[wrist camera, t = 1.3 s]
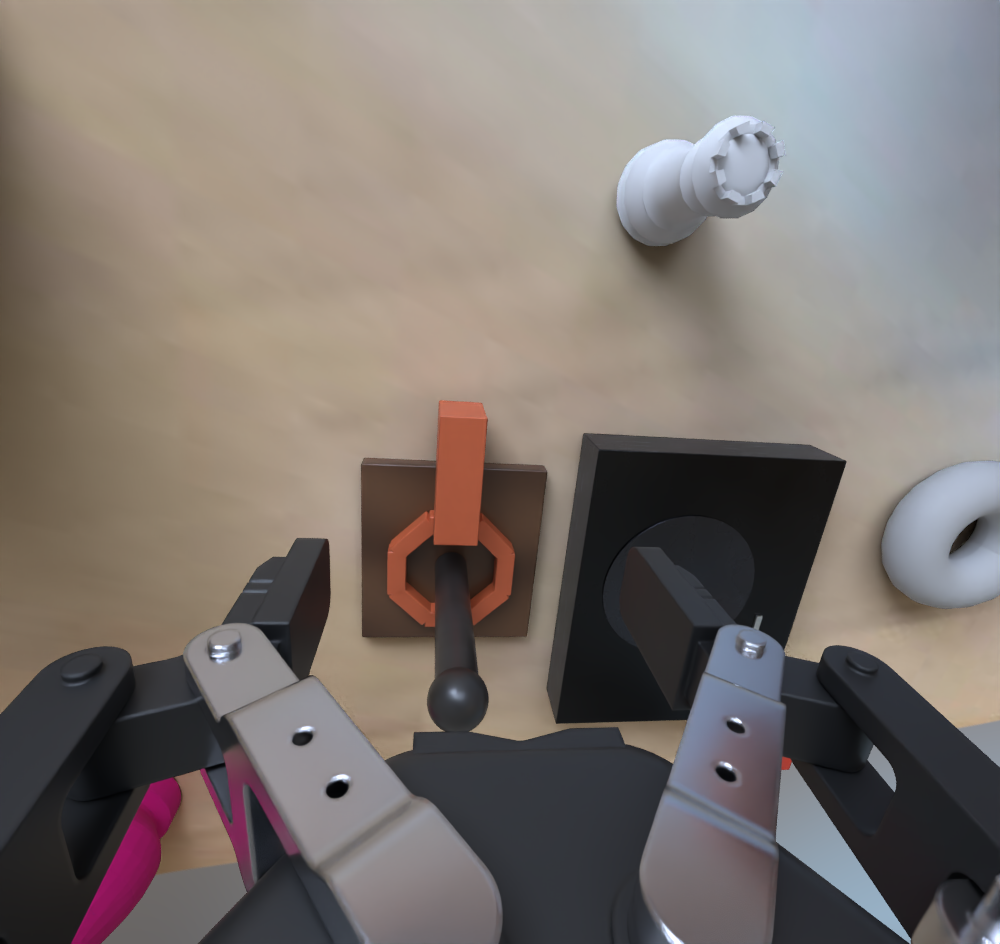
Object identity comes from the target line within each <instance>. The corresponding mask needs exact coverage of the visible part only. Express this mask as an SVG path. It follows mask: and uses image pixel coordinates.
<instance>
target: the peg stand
mask: <svg viewBox="0 0 1000 944" xmlns="http://www.w3.org/2000/svg"><path fill="white" fill-rule="evenodd" d="M435 479H436V461H425V460H401V459H377V458H364V459H363V461H362V464H361V522H362V636H363V637H435V680H434V681H433V682H432V684H431V686H430V688H429V692H428V697H427V707H428V711H429V714H430V717H431V719H432V720H433V722H434V723H435V724H436V725H437V726H438V727H439V728H440V729H442V730H443V731H445V732H450V731H468V732H469V731H471V730H472V729H474V728H475V727H476V726H478V725H479V723H480V722H481V721H482V720H483V718H484V716H485V714H486V711H487V708H488V702H489V698H488V691H487V687H486V685H485V683H484V681H483V680H482V678H481V677H480V676H479V675H478V666H477V657H476V648H475V638H474V637H526V636H527V633H528V624H529V616H530V608H531V600H532V592H533V584H534V576H535V568H536V560H537V552H538V544H539V536H540V527H541V519H542V511H543V503H544V495H545V487H546V479H547V470H546V468H545V467H544V466H543V465H519V464H496V463H484V471H483V484H482V497H481V509H480V513H483V514H484V515H485V516H486V517H487V518H488V519H489V521H490V522H491V523H492V524H493V525H494V526H495V527H496V528H497V529H498V530H499V531H500V532H501V533H502V534H503V535H504V536H505V537H506V538H507V539H508V540H509V541H510V542H511V543H512V546H513V549H514V552H515V561H514V571H513V580H512V589H511V595H508V596H509V598H508V599H507V600H506V601H505V602H503V603H502V604H501V605H500V606H498V607H497V608H496V609H495V610H493V611H492V612H491V613H489V614H488V615H487V616H486V617H484V618H483V619H482V620H481V621H479V622H478V623H477V624H475V625H473V620H472V611H471V601H470V600H471V599H472V598H473V597H474V596H476V595H477V594H478V593H479V592H481V591H482V590H483V589H485V588H486V587H487V586H488V585H490V584H491V583H492V582H493V572H494V561H495V556H494V555H493V554H492V553H491V552H490V551H489V550H488V549H487V548H486V547H485V546H484V545H483V544H482V543H481V542H480V541H479V540H478V545H477V546H465V545H434V534H433V535H432V536H431V537H430V538H428V539H427V540H426V541H425V542H424V543H422V544H421V545H420V546H419V547H418V548H416V549H415V550H414V551H413V552H412V553H410V554H409V555H408V556H407V571H406V582H407V583H409V584H410V585H411V586H412V587H413V588H414V589H415V590H416V591H418V592H419V593H420V594H421V595H422V596H423V597H424V598H426V599H427V600H428V601H429V602H430V603H435V627H425V623H424V624H423V625H421V624H420V623H418V622H417V621H416V620H415V619H414V618H413V617H411V616H410V615H409V614H408V613H407V612H406V611H404V610H403V609H402V608H401V607H400V606H399V605H397V604H396V603H395V602H394V601H393V600H392V599H390V597H389V595H388V594H387V561H388V548H389V544H391V540H392V539H394V538H395V537H396V536H397V535H398V534H400V533H401V532H402V531H403V530H404V529H405V528H407V527H408V526H409V525H410V524H411V523H413V522H414V521H415V520H416V519H417V518H419V517H420V516H421V515H422V514H423V513H424V512H426V511H427V512H428V513H429V511H430V510H434V501H435Z"/></svg>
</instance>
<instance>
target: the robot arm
mask: <svg viewBox="0 0 1000 944" xmlns="http://www.w3.org/2000/svg"><path fill="white" fill-rule="evenodd" d="M330 594H331V591H330V554H329V542H328V539H320V538H297V539H296V540H295V542H294V543H293V545H292V547H291V549H290V551H289V553H288V554H287V556H286V557H272V558H270V559H269V560H268V561H266V562H265V563H263V564H262V565H260V566H259V567H257V569H256V570H255V572H254V574H253V575H252V577H251V578H250V580H249V583H247V585H246V586H245V588H244V589H243V593H241V594H240V596H239V597H238V599H237V601H236V602H235V604H234V605H233V607H232V609H231V610H230V612H229V613H228V615H227V617H226V618H225V620H224V621H223V623H222V625H220V626H216V627H213V628H211V629H208V630H206V631H204V632H202V633H200V634H199V635H197V636H195V637H194V638H193V639H192V640H191V641H190V642H189V643H188V644H187V645H186V647H185V649H184V652H183V655H181V656H178V657H175V658H171V659H167V660H162V661H157V662H152V663H147V664H142V665H137V666H133V665H132V659H131V656H130V654H129V653H128V652H127V651H125V650H124V649H121V648H118V647H108V646H104V647H94V648H88V649H84V650H80V651H77V652H74V653H71V654H69V655H67V656H64V657H62V658H60V659H58V660H56V661H54V662H53V663H51V664H49V665H48V666H47V667H45V668H44V669H43V670H41V671H40V672H39V673H38V674H37V675H36V676H35V677H34V679H33V680H32V681H31V682H30V683H29V684H28V685H27V686H26V687H25V688H24V689H23V690H22V692H21V693H20V694H19V695H18V696H17V697H16V698H15V699H14V700H13V701H12V702H11V703H10V705H9V706H8V707H7V708H6V709H5V710H4V711H3V712H2V713H1V714H0V944H71V943H72V941H73V939H74V937H75V935H76V933H77V931H78V929H79V927H80V925H81V923H82V921H83V919H84V917H85V915H86V913H87V911H88V909H89V907H90V905H91V903H92V901H93V899H94V897H95V895H96V893H97V891H98V889H99V887H100V885H101V883H102V881H103V879H104V877H105V875H106V873H107V871H108V869H109V867H110V865H111V863H112V861H113V859H114V857H115V855H116V853H117V851H118V849H119V847H120V845H121V842H122V840H123V838H124V836H125V834H126V832H127V830H128V828H129V826H130V824H131V822H132V820H133V818H134V816H135V814H136V812H137V810H138V808H139V806H140V804H141V802H142V800H143V798H144V796H145V794H146V792H147V790H148V788H149V786H150V784H152V783H155V782H159V781H162V780H165V779H169V778H172V777H176V776H179V775H183V774H186V773H190V772H193V771H196V770H200V772H201V775H202V777H203V779H204V781H205V784H206V786H207V788H208V790H209V793H210V795H211V797H212V799H213V801H214V804H215V806H216V808H217V810H218V813H219V815H220V817H221V819H222V822H223V824H224V826H225V828H226V830H227V833H228V835H229V837H230V839H231V842H232V844H233V847H234V850H235V854H236V857H237V861H238V865H239V869H240V873H241V876H242V879H243V882H244V885H245V888H246V891H247V893H246V894H245V895H244V896H243V897H242V898H241V899H240V901H238V902H237V904H236V905H235V906H234V907H233V908H232V909H231V910H230V911H229V912H228V913H227V914H226V915H225V916H224V917H223V918H222V919H221V920H220V921H219V922H218V923H217V924H216V925H215V926H214V927H213V928H212V929H211V931H210V932H209V933H208V934H207V935H206V936H205V937H204V938H203V939H202V940H201V941H200V942H199V943H198V944H909V943H908V942H907V941H905V940H904V939H903V938H901V937H900V936H899V935H897V934H896V933H895V932H894V931H892V930H891V929H890V928H888V927H887V926H886V925H884V924H883V923H882V922H880V921H879V920H878V919H876V918H875V917H874V916H873V915H871V914H870V913H868V912H867V911H866V910H865V909H863V908H862V907H861V906H859V905H858V904H857V903H855V902H854V901H853V900H851V899H850V898H849V897H848V896H846V895H845V894H844V893H842V892H841V891H840V890H838V889H837V888H836V887H834V886H833V885H832V884H831V883H829V882H828V881H827V880H825V879H824V878H822V877H821V876H820V875H819V874H817V873H816V872H815V871H814V870H812V869H811V868H810V867H808V866H807V865H806V864H804V863H803V862H802V861H800V860H799V859H798V858H796V857H795V856H794V855H793V854H791V853H790V852H788V851H787V850H786V849H785V848H783V847H782V846H780V845H779V844H778V843H777V842H776V826H777V814H778V802H779V790H780V779H781V767H782V757H786V758H790V759H791V761H792V762H793V764H794V766H795V767H796V769H797V770H798V772H799V773H800V775H801V776H802V777H803V779H804V781H805V782H806V783H807V785H808V786H809V788H810V789H811V791H812V792H813V794H814V795H815V797H816V798H817V800H818V801H819V802H820V804H821V806H822V807H823V809H824V810H825V812H826V813H827V815H828V816H829V818H830V819H831V821H832V822H833V824H834V825H835V826H836V828H837V830H838V831H839V833H840V834H841V836H842V837H843V839H844V840H845V841H846V843H847V844H848V846H849V847H850V849H851V850H852V852H853V853H854V855H855V856H856V858H857V859H858V861H859V862H860V864H861V865H862V867H863V868H864V870H865V871H866V873H867V874H868V876H869V877H870V879H871V880H872V881H873V883H874V885H875V886H876V888H877V889H878V891H879V892H880V893H881V895H882V896H883V898H884V900H885V901H886V903H887V904H888V906H889V907H890V908H891V910H892V912H893V913H894V914H895V916H896V918H897V919H898V921H899V922H900V924H901V925H902V926H903V928H904V929H905V931H906V932H907V934H908V935H909V937H910V938H911V944H1000V767H999V766H997V765H996V764H995V763H994V762H993V761H991V759H990V758H989V757H988V756H987V755H985V754H984V753H983V752H982V751H981V750H980V749H979V748H978V747H977V746H976V745H975V744H973V743H972V742H971V741H970V740H969V739H968V738H967V737H966V736H964V734H963V733H961V732H960V731H959V730H958V729H957V728H956V727H955V726H954V725H953V724H952V723H950V722H949V721H948V720H947V719H946V718H945V717H944V716H943V715H942V714H941V713H940V712H938V711H937V710H936V709H935V708H934V707H933V706H932V705H931V704H930V703H929V702H928V701H926V700H925V699H924V698H923V697H922V696H921V695H920V694H919V693H918V692H917V691H916V690H914V689H913V688H912V687H911V686H910V685H909V684H908V683H907V682H906V681H905V680H903V679H902V678H901V677H900V676H899V675H898V674H897V673H896V672H895V671H894V670H893V669H891V668H890V667H889V666H888V665H887V664H885V663H884V662H882V661H881V660H879V659H878V658H876V657H874V656H872V655H870V654H868V653H866V652H864V651H861V650H858V649H855V648H851V647H847V646H839V645H836V646H829V647H827V648H826V649H825V650H824V652H823V654H822V657H821V660H820V663H816V662H812V661H807V660H802V659H797V658H793V657H788V656H785V652H784V650H783V648H782V646H781V645H780V644H779V643H778V642H777V641H776V640H774V639H773V638H772V637H770V636H769V635H767V634H765V633H763V632H761V631H759V630H757V629H754V628H751V627H748V626H743V625H737V624H736V623H735V621H734V620H733V619H732V618H731V617H730V616H729V615H728V613H727V612H726V611H725V610H724V609H723V608H722V607H721V605H720V604H719V603H718V602H717V601H716V600H715V599H713V596H712V595H711V594H710V593H709V592H708V591H707V589H704V586H703V585H702V584H701V582H700V581H699V580H698V579H697V578H696V577H695V576H694V575H693V574H691V573H690V572H688V571H687V570H685V569H683V568H682V567H680V566H679V565H674V563H673V562H672V561H671V560H670V559H669V557H668V556H667V555H666V554H665V553H664V551H663V550H662V549H661V548H659V547H632V548H631V549H630V550H629V552H628V556H627V561H626V566H625V571H624V576H623V582H622V587H621V592H620V599H619V605H620V613H621V616H622V619H623V621H624V623H625V625H626V626H627V628H628V630H629V632H630V634H631V636H632V637H633V639H634V641H635V643H636V645H637V647H638V648H639V650H640V652H641V654H642V656H643V658H644V659H645V661H646V663H647V665H648V667H649V668H650V670H651V672H652V674H653V676H654V678H655V679H656V681H657V683H658V685H659V687H660V689H661V690H662V692H663V694H664V696H665V698H666V700H667V701H668V703H669V705H670V707H671V709H672V711H676V710H691V711H690V714H689V717H688V720H687V723H686V727H685V730H684V733H683V736H682V739H681V742H680V745H679V748H678V751H677V754H676V757H675V760H674V763H673V764H672V763H670V762H669V761H667V760H666V759H664V758H662V757H660V756H658V755H656V754H654V753H651V752H649V751H646V750H644V749H641V748H637V747H634V746H631V745H626V744H625V743H624V740H623V738H622V736H621V733H620V731H619V728H618V727H608V728H570V729H566V730H562V731H559V732H555V733H551V734H547V735H543V736H540V737H536V738H532V739H528V740H524V741H516V740H510V739H505V738H500V737H495V736H489V735H484V734H479V733H473V732H468V731H450V732H414V739H413V750H411V751H407V752H404V753H401V754H398V755H396V756H393V757H391V758H388V759H387V760H385V761H384V759H383V758H382V757H381V756H380V754H379V753H378V752H377V751H376V750H375V748H374V747H373V746H372V745H371V743H370V742H369V741H368V740H367V738H366V737H365V736H364V735H363V733H362V732H361V731H360V730H359V729H358V727H357V726H356V725H355V724H354V722H353V721H352V720H351V719H350V717H349V716H348V715H347V714H346V712H345V711H344V710H343V709H342V708H341V706H340V705H339V704H338V703H337V701H336V700H335V699H334V698H333V696H332V695H331V694H330V693H329V692H328V690H327V689H326V688H325V687H324V685H323V684H322V683H321V682H320V681H319V679H318V678H316V677H315V676H313V675H310V676H308V675H309V672H310V669H311V666H312V663H313V660H314V657H315V654H316V651H317V648H318V645H319V642H320V639H321V636H322V633H323V629H324V626H325V623H326V620H327V617H328V613H329V607H330ZM873 745H875V746H876V747H877V748H878V749H879V751H880V752H881V753H882V754H883V755H884V756H885V758H886V759H887V760H888V761H889V763H890V764H891V766H892V768H893V770H894V773H895V777H896V790H895V793H894V791H893V790H892V789H891V788H890V787H889V786H888V784H887V783H886V782H885V781H884V779H883V778H882V777H881V776H880V775H879V773H878V772H877V771H876V770H875V769H874V767H873V766H872V765H871V764H870V763H869V762H868V760H867V759H868V757H869V754H870V751H871V750H872V748H873Z"/></svg>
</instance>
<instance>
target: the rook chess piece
mask: <svg viewBox="0 0 1000 944" xmlns="http://www.w3.org/2000/svg"><path fill="white" fill-rule="evenodd" d="M774 129H775V127H774V126H772V125H770V124H769V123H767V122H765V121H762V122H761V121H759V120H757V119H755V118H754V117H752V116H732V117H730V118H728V119H725V120H723V121H721V122H719V123H717V124H716V125H715V126H714V127H713V128H712V129H711V130H710V131H709V132H708V133H707V134H706V135H705V137H704V138H703V139H702V140H699V141H698V142H697V143H696V144H695V145H694V144H692V143H690V142H689V141H687V140H666V139H665V140H663V141H661V142H659V143H655V144H653V145H651V146H649V147H646V148H644V149H642V150H640V151H639V152H638V153H637V154H636V155H635V156H634V157H633V158H632V160H631V161H630V162H629V163H628V164H627V165H626V167H625V169H624V171H623V174H622V176H621V179H620V181H619V183H618V189H617V209H618V213H619V216H620V219H621V223H622V225H623V226H624V228H625V229H626V230H627V231H628V233H629V234H630V235H631V236H632V237H633V239H635V240H637V241H639V242H642V243H644V244H646V245H648V246H667V245H669V244H671V243H675V242H677V241H679V240H681V239H683V238H686V237H688V236H690V235H691V234H692V233H693V232H694V231H695V230H696V229H697V228H698V227H699V226H700V225H701V224H702V223H703V222H704V221H705V220H706V217H707V216H718V217H720V218H739V217H741V216H743V215H746V214H748V213H750V212H752V211H754V210H755V209H756V208H757V207H758V206H759V205H760V204H761V203H762V202H763V201H764V200H765V199H766V198H767V196H768V194H769V192H770V190H771V188H772V187H775V186H776V185H777V183H778V181H779V179H780V177H781V175H782V173H783V171H780V170H778V163H779V157H782V156H785V155H786V152H785V146H784V141H783V140H781V141H778V142H776V139H775V138H774V136H773V135H772V132H773V130H774Z"/></svg>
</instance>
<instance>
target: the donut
mask: <svg viewBox="0 0 1000 944" xmlns="http://www.w3.org/2000/svg"><path fill="white" fill-rule="evenodd" d="M976 519H978V521H977V524H976V527H975V530H974V532H973V533H972V535H971V536H970V538H969V539H968V540H967V541H966V542H965V543H964V544H963V545H962V546H961V547H960V548H959V549H957V550H956V551H954V552H953V553H951V554H949V553H950V550H951V547H952V544H953V542H954V541H955V539H956V538H957V536H958V535H959V533H960V532H961V531H962V530H963V529H964V528H965V527H966V526H967V525H968V524H970V523H971V522H973V521H974V520H976ZM881 548H882V563H883V565H884V568H885V570H886V572H887V574H888V576H889V578H890V580H891V582H892V584H893V585H894V586H895V587H896V588H897V589H899V590H900V591H901V592H903V593H904V594H905V595H906V596H908V597H909V598H910V599H911V600H914V601H916V602H918V603H921V604H924V605H928V606H932V607H936V608H942V609H952V608H965V607H971V606H974V605H977V604H980V603H983V602H986V601H989V600H992V599H994V598H995V597H997V596H999V595H1000V462H997V461H973V462H963V463H959V464H957V465H954V466H951V467H948V468H945V469H942V470H939V471H938V472H936V473H934V474H933V475H931V476H930V477H928V478H927V479H925V480H924V481H922V482H920V483H919V484H917V485H916V486H915V487H914V488H913V489H912V490H911V491H910V492H909V493H908V494H907V495H906V496H905V497H904V498H903V499H902V500H901V501H900V502H899V503H898V505H897V506H896V508H895V510H894V511H893V513H892V515H891V516H890V518H889V520H888V521H887V525H886V528H885V532H884V535H883V539H882V543H881Z"/></svg>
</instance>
